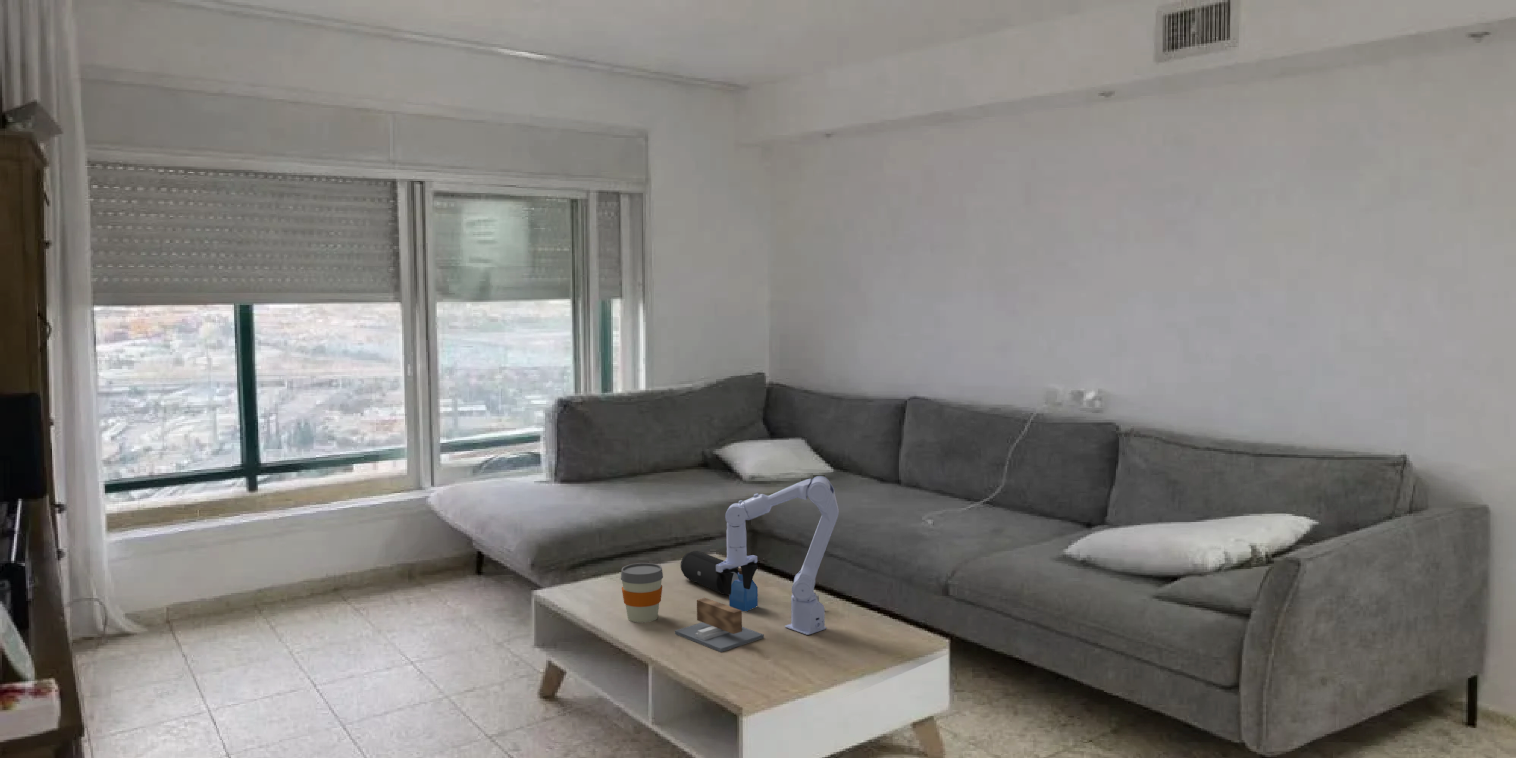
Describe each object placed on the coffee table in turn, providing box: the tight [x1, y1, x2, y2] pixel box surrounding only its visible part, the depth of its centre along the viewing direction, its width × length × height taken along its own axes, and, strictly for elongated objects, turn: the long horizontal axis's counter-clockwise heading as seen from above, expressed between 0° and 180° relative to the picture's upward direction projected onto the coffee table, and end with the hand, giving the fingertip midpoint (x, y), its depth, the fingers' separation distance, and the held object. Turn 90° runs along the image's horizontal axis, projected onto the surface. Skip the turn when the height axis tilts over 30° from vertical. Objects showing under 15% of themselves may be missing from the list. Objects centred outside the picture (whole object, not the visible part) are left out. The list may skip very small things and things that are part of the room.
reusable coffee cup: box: [620, 562, 664, 624], centre depth 311 cm, size 13×13×15 cm
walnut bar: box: [696, 597, 743, 634], centre depth 295 cm, size 16×3×6 cm, turn 43°
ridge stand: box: [674, 622, 765, 653], centre depth 295 cm, size 20×16×3 cm
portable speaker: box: [680, 550, 740, 596], centre depth 341 cm, size 26×10×10 cm, turn 36°
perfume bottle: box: [728, 567, 759, 612], centre depth 320 cm, size 6×6×12 cm
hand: (737, 591), depth 302 cm, fingers open, 7 cm apart
